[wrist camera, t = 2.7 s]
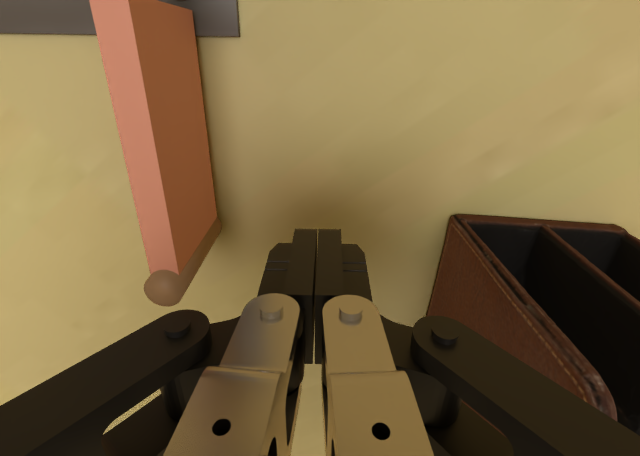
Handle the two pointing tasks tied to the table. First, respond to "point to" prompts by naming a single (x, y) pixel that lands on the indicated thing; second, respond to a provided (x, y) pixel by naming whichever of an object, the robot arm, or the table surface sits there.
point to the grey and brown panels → (76, 18)
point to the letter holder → (551, 301)
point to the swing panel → (161, 135)
